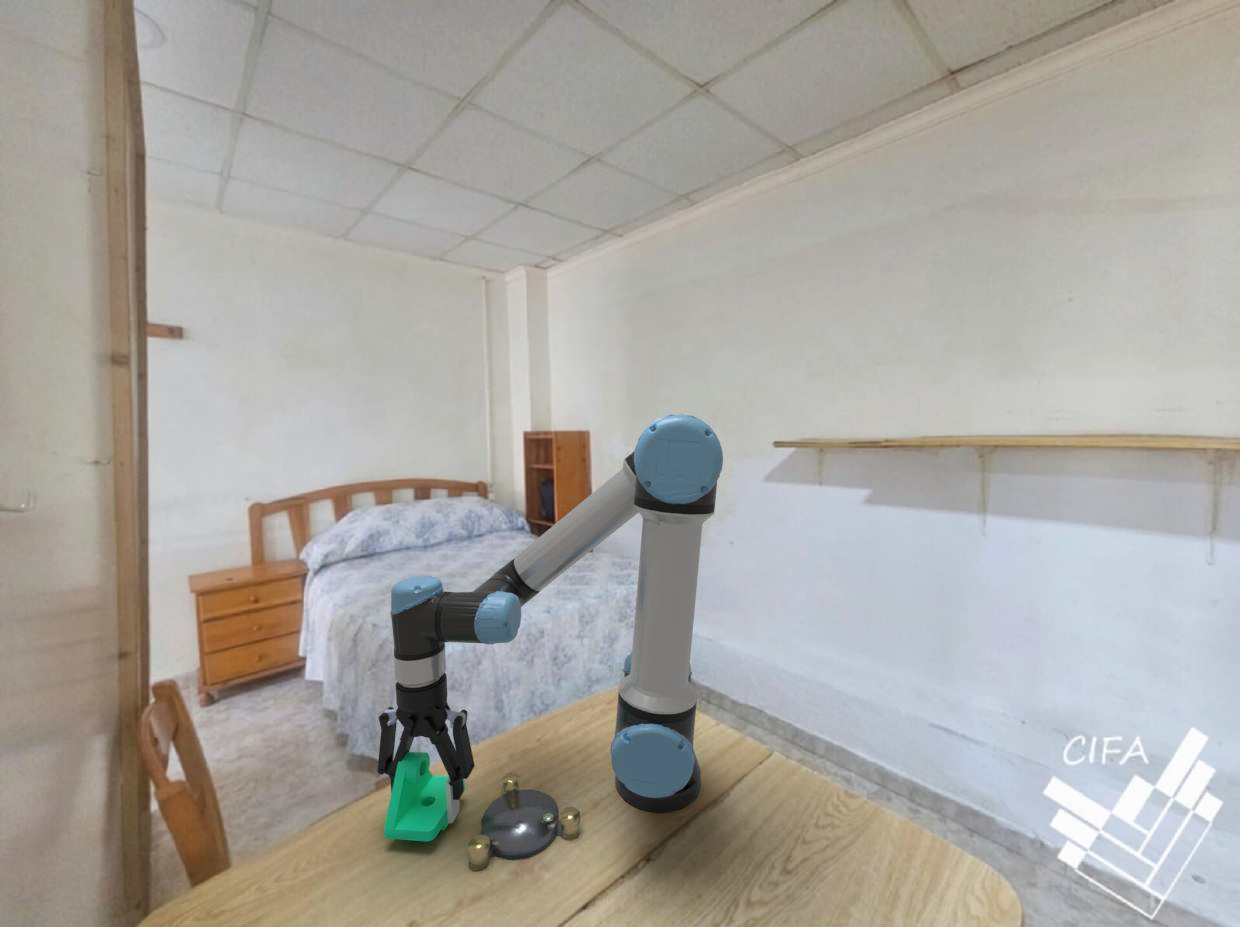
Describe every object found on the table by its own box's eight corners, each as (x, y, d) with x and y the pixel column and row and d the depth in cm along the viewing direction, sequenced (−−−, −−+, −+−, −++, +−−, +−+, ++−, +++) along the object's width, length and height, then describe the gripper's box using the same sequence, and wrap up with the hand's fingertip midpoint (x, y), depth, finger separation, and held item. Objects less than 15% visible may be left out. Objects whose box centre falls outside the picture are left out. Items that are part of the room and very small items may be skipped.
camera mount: (433, 849, 76) (429, 782, 76) (385, 845, 77) (380, 779, 77) (467, 792, 88) (464, 734, 87) (425, 789, 89) (422, 732, 88)
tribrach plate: (589, 794, 89) (589, 778, 89) (568, 880, 72) (568, 859, 72) (502, 788, 91) (501, 771, 90) (461, 869, 74) (461, 850, 74)
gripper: (492, 667, 84) (498, 801, 85) (374, 664, 86) (382, 794, 88) (474, 690, 76) (481, 837, 78) (345, 686, 79) (354, 829, 80)
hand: (428, 814), depth 83 cm, fingers closed on camera mount, 8 cm apart
